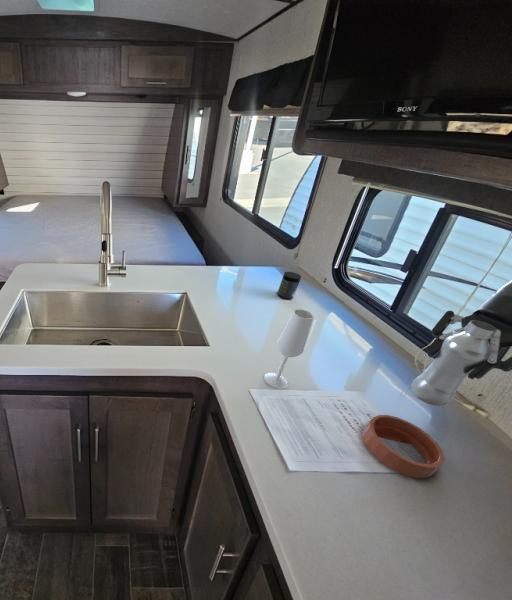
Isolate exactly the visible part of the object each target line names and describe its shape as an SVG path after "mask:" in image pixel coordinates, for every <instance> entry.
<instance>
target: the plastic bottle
mask: <svg viewBox="0 0 512 600" xmlns="http://www.w3.org/2000/svg"><path fill="white" fill-rule="evenodd" d="M464 330H465V331H463V332H459V333H455V334H453V335H450V336H449V337H447V338H446V339H445V340H444V342H443V344H442V346H441V348H440V350H439V352H438V354H437V355H436V356H434V358H433V360H432V362H431V364H429V365H428V367H427V368H425V370H424V371H423V372H421V374H419V375H417V377H415V379H413V380H412V382H411V385H410V390H411V393H412V394H413V396H414V397H416V398H417V399H418V400H420V401H421V402H424V403H426V404H427V405H430V406H437V407H439V406H445V405H447V404H448V403H450V402H451V401H453V399H454V397H455V396H456V393H457V391H458V389H459V387H460V386H461V384H462V383H463V382H464V380H465V379H466V378H468V374H469V373H470V372H471V371H472V370H474V369H475V368H476V367H477V366H478V365H479V364H480V363H482V362H483V361H486V360H487V358H488V357H489V356H490V354H491V347H490V344H489V341H488V339H492V337H493V335H494V334H495V332H496V331H497V329H496V328H495V327H494V326H492V325H490V324H488V323H485V322H482V321H477V320H471V321H470V322H469V323H468V325H467V326H465V328H464Z"/></svg>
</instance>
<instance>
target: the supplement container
mask: <svg viewBox="0 0 512 600" xmlns="http://www.w3.org/2000/svg"><path fill="white" fill-rule="evenodd" d="M301 280H302V275H301V274H299V273H296V272H294V271H284V272H283V276H282V278H281V281H280V284H279V287H278V290H277V296H278V297H280V298H281V299H282V300H293V299H294V298H295V295H296V293H297V289H298V287H299V285H300V282H301Z"/></svg>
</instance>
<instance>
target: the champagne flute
mask: <svg viewBox="0 0 512 600" xmlns="http://www.w3.org/2000/svg"><path fill="white" fill-rule="evenodd" d="M314 317H315V316H314V314H313V313H312V312H311V311H308V310H306V309H302V308H296V309H294V310H293V312H292V314H291V315H290V317H289V319H288V321H287V322H286V325H285V327H284V328H283V330H282V332H281V334H280V336H279V338H278V340H277V342H276V346H277V349H278V351H279V353H280V354H281V355H282V359H281V362H280V364H279V366H278V369H277V371H276V373H275V372H267V373H266V374H264V376H263V378H264V381H265V383H266V384H267V385H269V386H270V387H272V388H275V389H278V390H284V389H287V388H288V387H289V381H288V380H287V379H286V378H285V377H284V376H283V375H282V374H283V371H284V369H285V366H286V364H287V361H288V359H289V358H290V359H291V358H296V357H299V356H301V355H303V353H304V351H305V348H306V344H307V340H308V337H309V334H310V331H311V328H312V324H313V321H314Z"/></svg>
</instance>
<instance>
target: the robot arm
mask: <svg viewBox="0 0 512 600" xmlns="http://www.w3.org/2000/svg"><path fill="white" fill-rule="evenodd" d="M471 320H477V321H482V322H485V323H488V324H490V325H492V326H494V327H495V328H496V329H497V331H496V332H495V334H494V335H493V337H492V339H488V341H489V344H490V347H491V354H490V356H489V357H488V358H487V359H486V360H485V361H483V362H482V363H480V364H479V365H478V366H477V367H476V368H475V369H474V370H472V371H471V372H470V373H469V374H468V375H467V378H469V380H472V381H473V380H474V379H477V380H480V379H482V378H483V377H485V375H487V374H488V373H489V372H490V371H491V370H493V369H496V370H497V369H498V370H501V371H502V372H505V373H506V372H507V373H508V372H511V371H512V356H510V357H508V358H507V359H505V360H501V359H498V356H499V349H503V348H509V347H512V279H511V280H510V281H509V282H507V283H505V284H504V285H503V286H501V287H500V288H498V290H496V291H495V292H493V293H492V294H491V295H490V297H489V298H487V300H485V301H484V302H483V303H482V304H481V305H479V307H478V308H477V309H476V310H474V311H473V312H472V313H471V314H468V315H466V316H463V315H459V314H456V313H455V312H454V311H453V310H447V311H446V312H445V313H444V314H443V316H442V317H441V318H440V319H439V320H438V321H437V323H436V324H435V325H434V327H432V329H431V336H432V337H433V338H435V339H436V340H435V341H434V342H433V343H432V344H431V345H430V346H428V347H427V351H426V352H427V357H429V358H430V359H434V358H435V357H436V356H437V354H438V352H439V350H440V348H441V346H442V344H443V342H444V340H445V339H446V338H447V337H449V336H450V335H453V334H455V333H459V332H463V331H465V330H464V328H465V326H467V325H468V323H469V322H470V321H471ZM456 323H460V324H461V325H460V326H461V327H460V328H456V329H452V331H450V332H447V333H444V332H445V330H446V329H447V328H448V327H449V325H455V324H456Z"/></svg>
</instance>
